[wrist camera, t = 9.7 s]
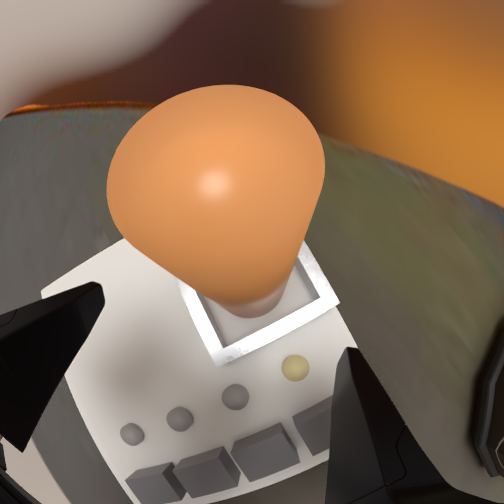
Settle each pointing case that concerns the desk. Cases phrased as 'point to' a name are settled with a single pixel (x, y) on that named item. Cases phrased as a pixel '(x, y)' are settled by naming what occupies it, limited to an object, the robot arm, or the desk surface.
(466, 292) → the desk surface
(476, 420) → the black drum container
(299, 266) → the socket collar
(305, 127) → the plug
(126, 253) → the breaker panel
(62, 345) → the robot arm
